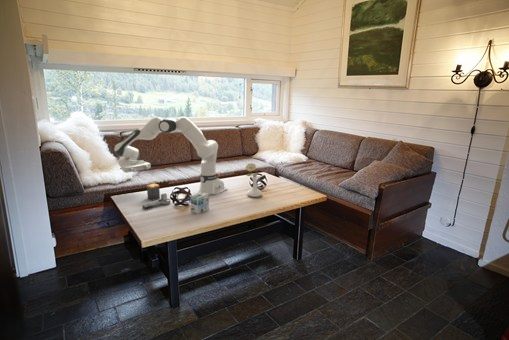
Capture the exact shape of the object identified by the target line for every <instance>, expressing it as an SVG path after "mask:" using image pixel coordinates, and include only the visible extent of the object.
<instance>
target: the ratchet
mask: <svg viewBox="0 0 509 340" xmlns="http://www.w3.org/2000/svg"><path fill="white" fill-rule="evenodd" d="M170 204H171V198H168V194H167V193H166V192H161V193H160V199H157V202H153V203H146V204H143V205H142V209H143V210H145V211H146V210H151V209H153V208H157V207H160V206H167V205H170Z"/></svg>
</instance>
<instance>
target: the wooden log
mask: <svg viewBox="0 0 509 340" xmlns="http://www.w3.org/2000/svg"><path fill="white" fill-rule="evenodd" d="M160 191H161V190H160V184H157V183H155V182H154V183H150V184H147V185H146V192H147V193H146V194H147V199H148V200H150V201H152V202H153V201H156V200H159V199H161V192H160Z"/></svg>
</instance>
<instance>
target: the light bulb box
mask: <svg viewBox="0 0 509 340" xmlns="http://www.w3.org/2000/svg"><path fill="white" fill-rule="evenodd" d="M208 210H210V194H207V193H204V192H198V193H195V194H193V195H190V212H192V213H194V214H197V215H199V214H201V213H203V212H206V211H208Z"/></svg>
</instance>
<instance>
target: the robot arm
mask: <svg viewBox="0 0 509 340" xmlns="http://www.w3.org/2000/svg"><path fill="white" fill-rule="evenodd" d="M178 131H179V132H181V134H183V136H185V138H186V139H187V141H189V142H190V143H191V144H192V146H193V147H194V149H195V150H196V153H197V156H199V157H200V158H201V162H200V174H199V176H200V177H199V178H200V185H199V191H198V193H200V192H204V193H207V194H209V195H218V194H221V193H222V192H225V191H227V190H228V187H226V186H225V183H224V181H223V180H221V179H220V178H219V177H220V175H221V174H220V173H216V170H217V169H216V162H217V157H218V150H219V144H218V142H217V141H216V140H215V139H214V140H213V139H208V140H207V139H206V137H205V135H204V134H203V131H202V130H201V129H200V128H199V127H198V126H197V125H196V124H195V123H193V121H191V120H190V119H189V118H188V117H186V116H180V117H178V118H176V117H168V118H161V117H160V116H154V117H152V118H151V119H149V121H148V122H146V123H145V125H144V126H142V127H141V128H137V129H135V130H133V131H132V132H131V133H130V134H128V135H127V136H126V137H125V138H124V139H122V140H121V141H120V142H117V144H115V146H114V147H113V150H114V151H113V152H114V153H115V155H116V156H119V157H120V158H119V159H117V160H118V162H117V164H118V166H119V167H120V168H119V170H122V172H123V173H136V172H138V171H143V170H149V169H151V167H152V166H151V163H150V162H148V161H144V159H140V150H139V149H138V148H136V147H134V146H131V145H132V143H133V142H134V141H136V140H144V141H152V140H153V139H155V138H156V137H157V136H158V135H159V134H160V133H161V132H162V133H163V134H173V133H177V132H178Z"/></svg>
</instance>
